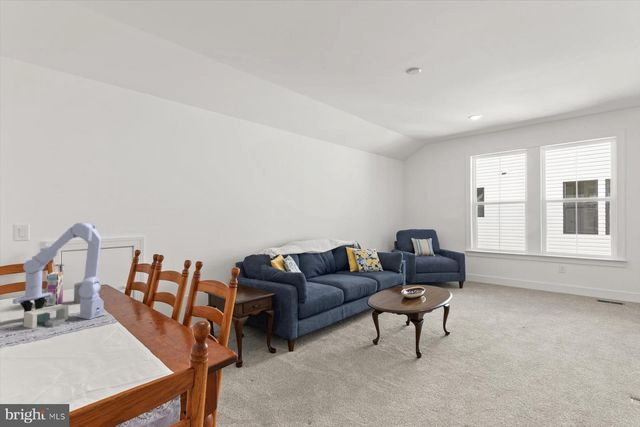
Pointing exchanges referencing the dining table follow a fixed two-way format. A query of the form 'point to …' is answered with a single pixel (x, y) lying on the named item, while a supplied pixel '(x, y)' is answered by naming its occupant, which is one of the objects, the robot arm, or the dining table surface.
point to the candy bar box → (55, 288)
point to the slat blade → (43, 317)
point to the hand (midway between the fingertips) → (33, 316)
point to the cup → (77, 292)
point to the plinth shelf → (31, 316)
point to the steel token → (54, 321)
